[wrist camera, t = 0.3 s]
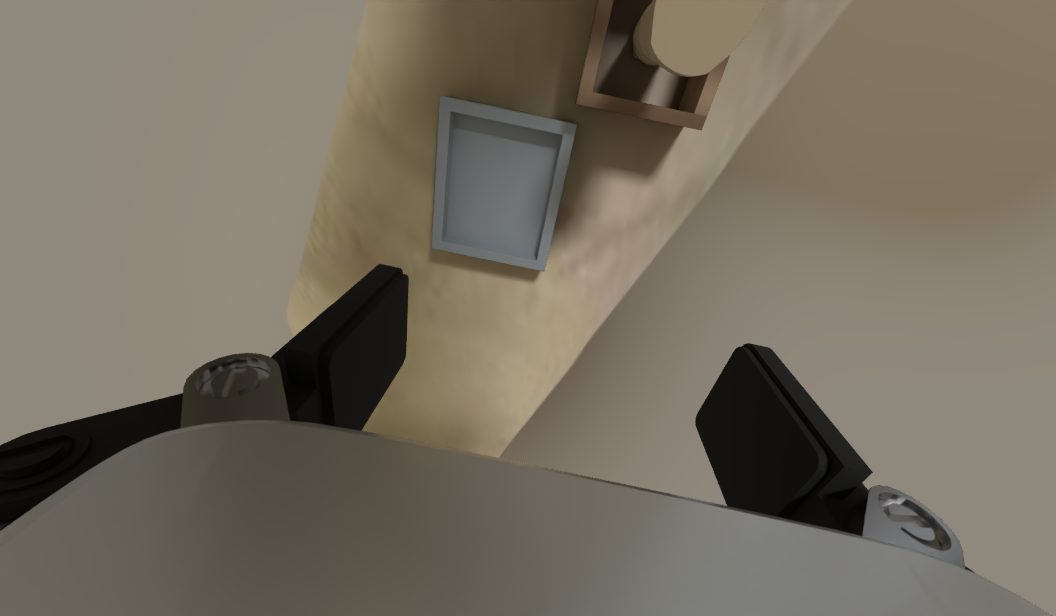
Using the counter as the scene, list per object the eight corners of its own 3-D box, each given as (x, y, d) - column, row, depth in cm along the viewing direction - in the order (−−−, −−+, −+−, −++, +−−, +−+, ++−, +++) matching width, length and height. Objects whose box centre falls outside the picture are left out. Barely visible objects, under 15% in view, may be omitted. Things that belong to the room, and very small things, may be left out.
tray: (448, 96, 34) (439, 95, 32) (576, 123, 34) (577, 124, 32) (438, 240, 41) (431, 248, 39) (545, 262, 41) (544, 271, 39)
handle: (699, 10, 29) (805, -64, 16) (654, 95, 32) (712, 92, 19) (646, -21, 29) (712, -122, 16) (605, 70, 32) (631, 48, 19)
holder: (610, -61, 28) (618, -92, 23) (740, -34, 28) (772, -58, 24) (575, 103, 33) (576, 104, 29) (684, 126, 33) (701, 130, 29)
